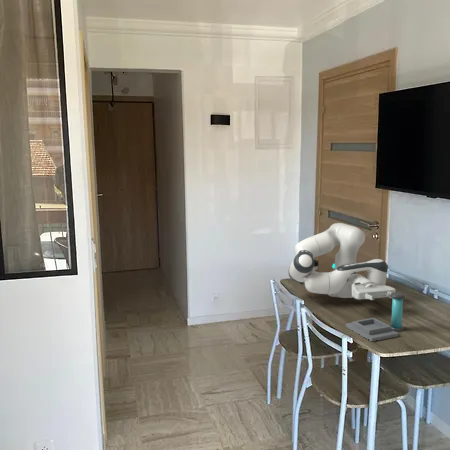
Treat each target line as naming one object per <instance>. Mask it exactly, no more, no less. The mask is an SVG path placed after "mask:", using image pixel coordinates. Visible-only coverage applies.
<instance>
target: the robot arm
mask: <svg viewBox="0 0 450 450" xmlns="http://www.w3.org/2000/svg"><path fill="white" fill-rule="evenodd" d="M365 241H366V234H365V232H364V231H363V230H361V229H360V227H357V226H355V225H352V224H351V225H350V224H346V223H345V222H335V223H333V224H331V225H330V227H329V228H327V229H326V230H324V231H323V232H320V233H318V234H315V235H312V236H309V237H307V238H304V239H303V240H301V241H299V242H298V243H296V244H295V246H294V253H295V257H294V258H293V259H292V260H291V263H290V266H289V268H288V271H287V272H288V277H289V278H290V280H292V281H293V282H295V283H299V284H300V285H304V287H305V290H307V291H308V292H309V293H314V294H321V295H327V296H329V297H331V298H340V299H341V298H342V299H352V298H353V299H356V300H370V301H374V300H375V299H379V298H388V299H392V297H391V293H394V292H396V288H394V287H393V286H390V285H386V283H387V275H388V271H389V270H388V269H389V265H388V264H387V262H386V261H385V260H384V259H379V258H374V259H369V260H367V261H366V260H364V261H360V262H357V255H358V252H359V249H360V247H361V246H362V245H363V244H364V243H365ZM337 246H340V247H339V250H338V251H337V253H336V254H335V255H334V263H335V269H331V271H330V272H324V271H323V272H319V271H317V272H316V271H314V270H313V268H314V260H315V259H314V258H316V257H320V256H323V255H324V254H328V253H330V252H332V251H333V250H334V248H335V247H337ZM364 271H365V272H366V277H365V276H363V275H362V274H358V272H364Z"/></svg>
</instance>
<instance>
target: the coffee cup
mask: <svg viewBox="0 0 450 450" xmlns="http://www.w3.org/2000/svg"><path fill="white" fill-rule="evenodd" d="M318 267H319V260H317V259H314V268H313V270H314V271H316V272H319V271H318Z"/></svg>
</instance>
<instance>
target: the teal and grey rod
mask: <svg viewBox="0 0 450 450" xmlns="http://www.w3.org/2000/svg"><path fill="white" fill-rule="evenodd" d="M391 297H392V298H391V299H392V302H391V303H392V304H391V322H390V323H391V324H388V325H389V326H391V329H392V330H393V331H395V332H397V333H399V332H402V331H404V328H405V327H404V326H403V325H402V324H403V311H404V310H403V305H404V299H405V298H406V294H405V293H402V292H394V293H391Z"/></svg>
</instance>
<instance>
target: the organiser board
mask: <svg viewBox="0 0 450 450" xmlns="http://www.w3.org/2000/svg"><path fill="white" fill-rule="evenodd" d="M389 325H390V324H388V323H385V322H383V321H381V320H379V319H377V318H375V317H371V318H366V319H365V318H364V319H358V320H352V322H347V323H345V328H348V329H349V330H351V331H352V330H353V331H352V332H354V333H355V334H357V333H358V335H359V334H360V335H359V336H361V337H363V338H364V337H365V339H366V338H367V339H366V340H368V339H369V340H370V342H371V341H373V342H377V341H376V340H378V341H382V340H388V339H393V338H397V337H399V332H398V331H393V330H392V329H391V326H389ZM369 340H368V341H369Z"/></svg>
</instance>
